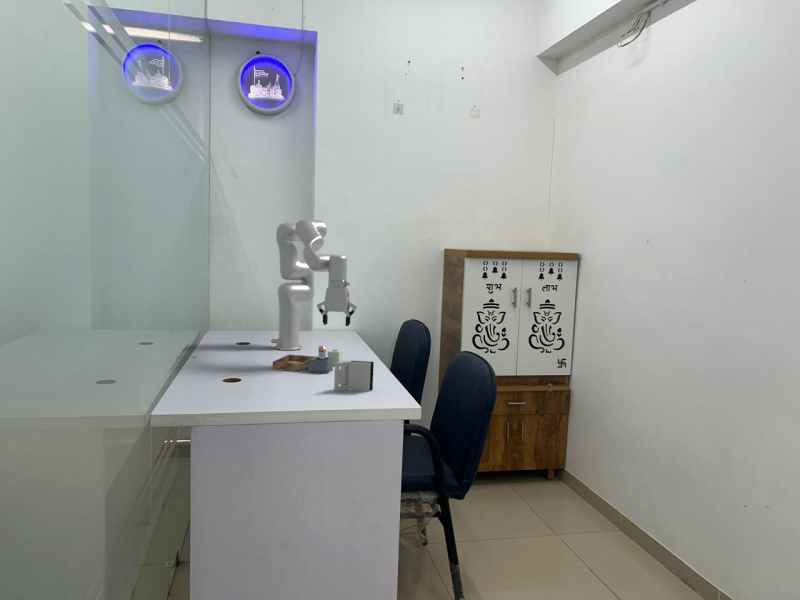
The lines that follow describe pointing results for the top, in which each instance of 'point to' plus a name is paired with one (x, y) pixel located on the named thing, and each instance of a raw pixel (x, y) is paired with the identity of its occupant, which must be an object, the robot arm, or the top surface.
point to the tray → (293, 362)
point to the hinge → (353, 375)
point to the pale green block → (335, 355)
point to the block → (321, 365)
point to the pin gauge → (322, 353)
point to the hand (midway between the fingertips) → (336, 325)
